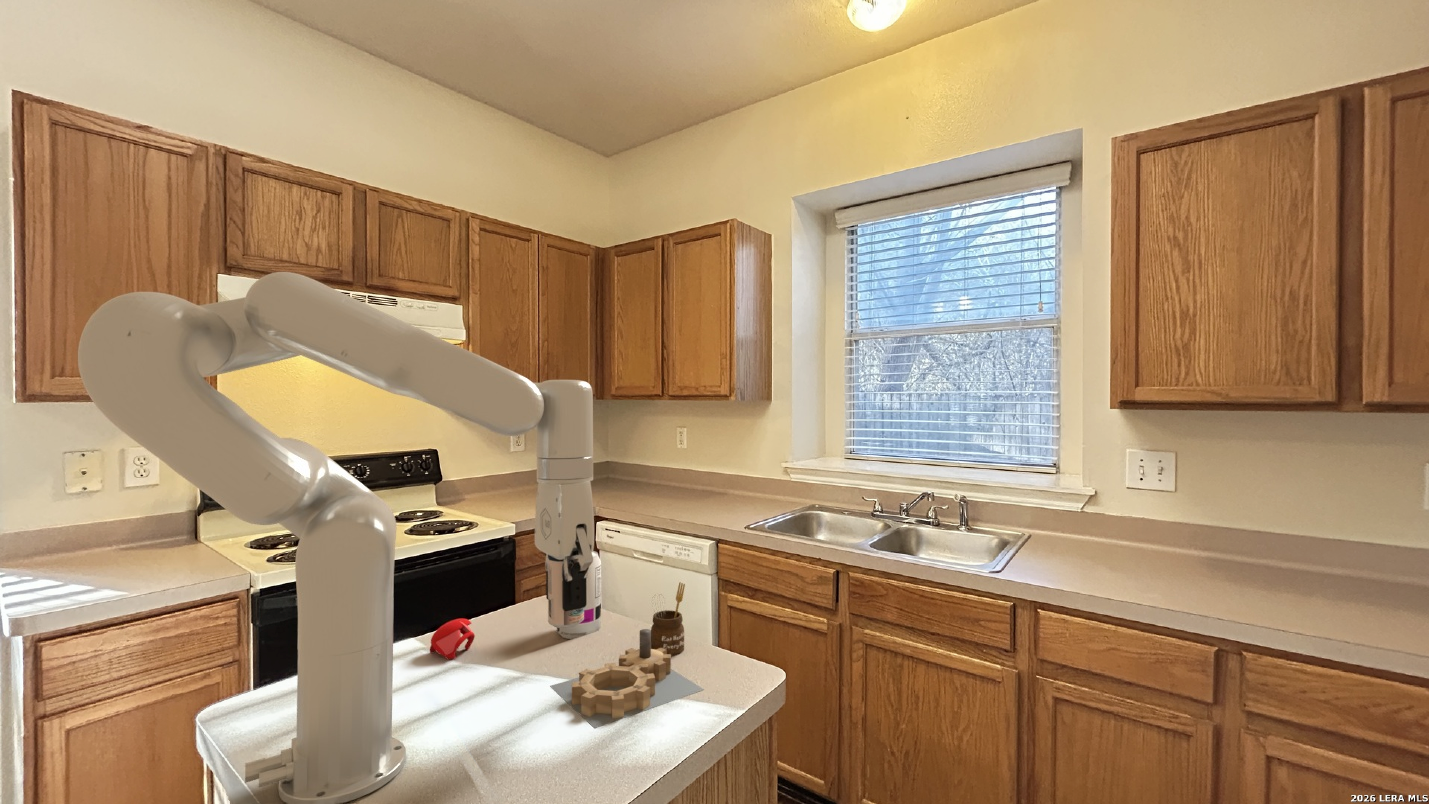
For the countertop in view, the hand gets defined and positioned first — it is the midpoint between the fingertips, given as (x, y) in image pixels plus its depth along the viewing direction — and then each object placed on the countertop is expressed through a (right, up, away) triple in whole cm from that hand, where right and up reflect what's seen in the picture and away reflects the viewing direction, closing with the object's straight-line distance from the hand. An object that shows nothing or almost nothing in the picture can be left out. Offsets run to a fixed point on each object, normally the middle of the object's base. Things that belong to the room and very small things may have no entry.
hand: (566, 602), depth 81 cm
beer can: (0, -3, 0) cm, 3 cm away
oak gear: (+6, -16, +5) cm, 17 cm away
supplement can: (-6, -17, +33) cm, 38 cm away
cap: (-26, -17, +23) cm, 38 cm away
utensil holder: (+12, -17, +23) cm, 31 cm away
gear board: (+7, -17, +8) cm, 20 cm away
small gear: (+9, -16, +14) cm, 23 cm away
